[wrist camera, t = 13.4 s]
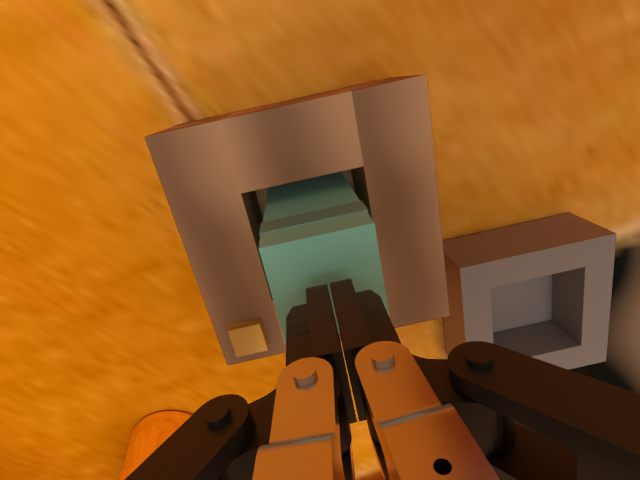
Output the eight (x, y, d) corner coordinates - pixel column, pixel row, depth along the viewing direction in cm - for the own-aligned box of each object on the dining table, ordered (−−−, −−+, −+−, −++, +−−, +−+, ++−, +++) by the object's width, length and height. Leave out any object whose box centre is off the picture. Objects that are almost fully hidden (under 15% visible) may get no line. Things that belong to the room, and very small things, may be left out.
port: (390, 77, 22) (431, 74, 16) (414, 267, 27) (454, 321, 20) (179, 124, 22) (139, 138, 16) (239, 306, 27) (225, 373, 20)
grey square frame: (568, 212, 26) (616, 233, 22) (565, 326, 29) (605, 361, 26) (434, 242, 26) (459, 268, 22) (446, 352, 29) (469, 391, 26)
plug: (338, 165, 23) (375, 221, 13) (350, 231, 24) (391, 322, 15) (268, 181, 23) (256, 247, 13) (284, 246, 24) (284, 346, 15)
